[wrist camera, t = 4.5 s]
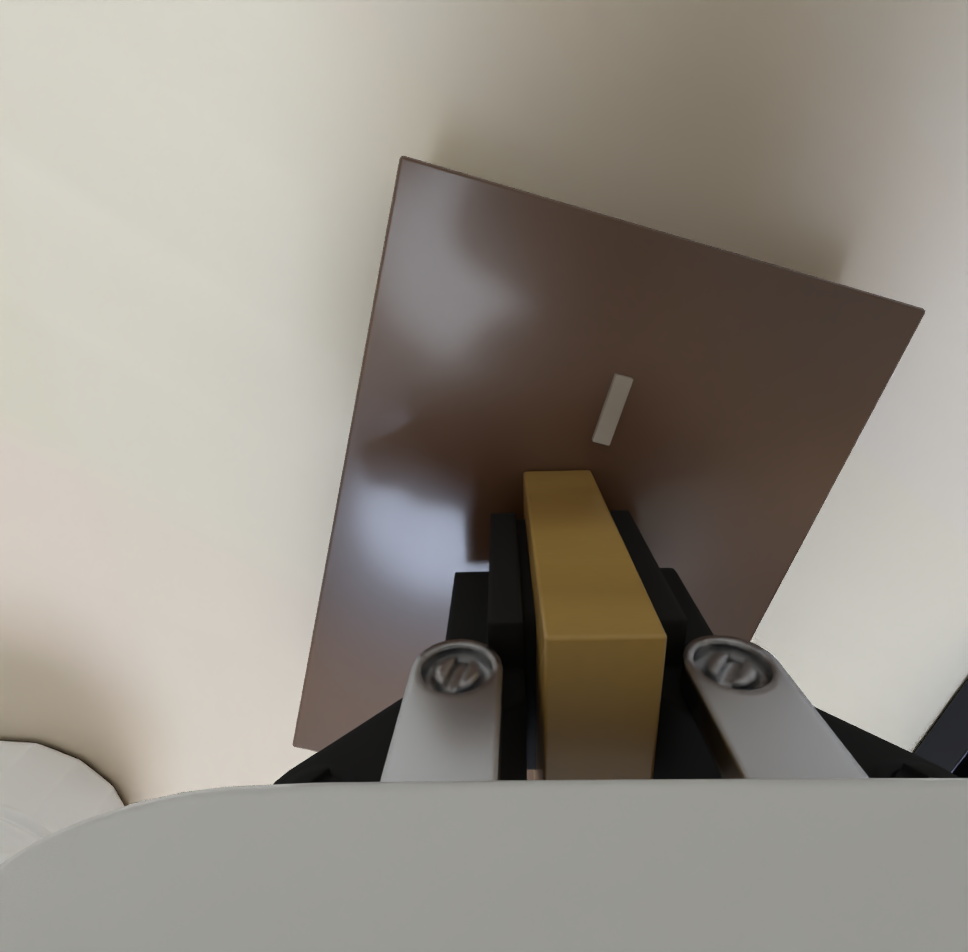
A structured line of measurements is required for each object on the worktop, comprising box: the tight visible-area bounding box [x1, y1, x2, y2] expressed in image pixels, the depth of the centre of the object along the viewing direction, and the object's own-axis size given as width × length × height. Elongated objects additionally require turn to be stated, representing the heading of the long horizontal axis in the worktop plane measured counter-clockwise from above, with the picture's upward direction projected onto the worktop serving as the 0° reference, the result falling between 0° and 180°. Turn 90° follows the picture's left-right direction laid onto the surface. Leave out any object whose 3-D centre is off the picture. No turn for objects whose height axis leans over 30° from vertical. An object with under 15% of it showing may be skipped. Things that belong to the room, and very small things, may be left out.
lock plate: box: [293, 156, 925, 780], centre depth 13 cm, size 14×10×3 cm
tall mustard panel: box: [523, 470, 667, 780], centre depth 9 cm, size 5×1×6 cm, turn 2°
